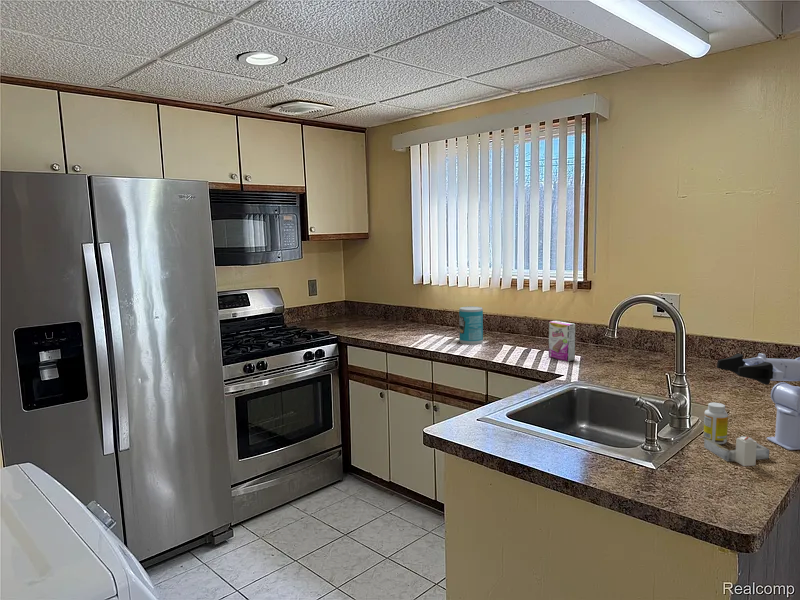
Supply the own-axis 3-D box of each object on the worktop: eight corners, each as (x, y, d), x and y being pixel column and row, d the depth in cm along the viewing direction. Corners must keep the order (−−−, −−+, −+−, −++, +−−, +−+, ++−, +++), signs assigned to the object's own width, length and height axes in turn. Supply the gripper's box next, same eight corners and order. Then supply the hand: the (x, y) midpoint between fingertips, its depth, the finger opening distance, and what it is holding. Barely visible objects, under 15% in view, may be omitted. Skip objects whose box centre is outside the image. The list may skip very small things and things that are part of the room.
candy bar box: (547, 357, 247) (548, 321, 245) (555, 355, 250) (555, 320, 248) (567, 362, 238) (568, 324, 236) (575, 360, 241) (576, 323, 239)
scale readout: (746, 460, 136) (747, 435, 135) (755, 465, 133) (756, 439, 132) (735, 461, 136) (736, 436, 135) (743, 466, 133) (745, 440, 132)
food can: (455, 343, 281) (455, 309, 279) (464, 339, 291) (464, 305, 289) (478, 345, 275) (477, 310, 273) (486, 341, 286) (486, 306, 283)
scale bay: (743, 444, 145) (743, 436, 145) (768, 458, 137) (769, 449, 136) (704, 447, 144) (704, 438, 144) (727, 461, 136) (728, 452, 135)
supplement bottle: (729, 440, 149) (731, 404, 147) (723, 446, 145) (725, 409, 143) (706, 435, 152) (708, 400, 151) (700, 441, 148) (702, 405, 147)
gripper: (758, 348, 149) (711, 346, 147) (802, 361, 134) (750, 359, 133) (754, 373, 150) (708, 372, 148) (797, 389, 135) (746, 387, 134)
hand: (728, 367), depth 141 cm, fingers open, 7 cm apart
